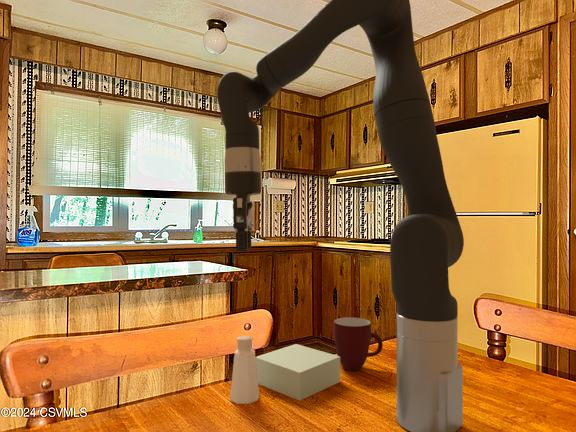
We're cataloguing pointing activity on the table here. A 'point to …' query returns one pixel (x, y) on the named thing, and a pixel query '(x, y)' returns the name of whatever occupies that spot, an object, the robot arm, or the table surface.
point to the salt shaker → (244, 373)
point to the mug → (354, 342)
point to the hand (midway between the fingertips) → (244, 249)
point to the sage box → (298, 371)
